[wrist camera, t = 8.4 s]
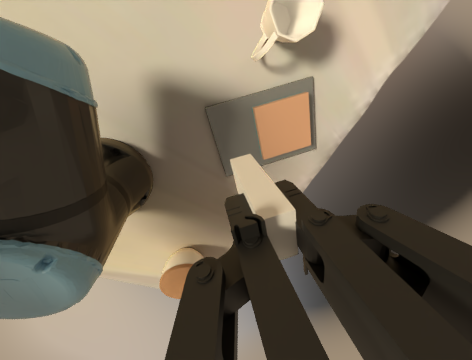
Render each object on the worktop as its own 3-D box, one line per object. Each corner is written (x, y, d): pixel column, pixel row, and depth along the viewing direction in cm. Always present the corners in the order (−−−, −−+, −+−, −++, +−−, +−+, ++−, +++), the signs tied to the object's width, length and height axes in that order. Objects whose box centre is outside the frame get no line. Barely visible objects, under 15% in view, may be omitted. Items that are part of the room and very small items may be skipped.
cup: (303, 20, 30) (335, 2, 23) (262, 76, 33) (280, 75, 26) (272, -20, 27) (299, -54, 20) (231, 45, 30) (241, 34, 23)
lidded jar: (171, 274, 51) (166, 311, 43) (158, 246, 46) (150, 282, 38) (210, 264, 52) (213, 299, 44) (202, 236, 47) (204, 269, 39)
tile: (263, 159, 38) (311, 145, 38) (254, 108, 33) (308, 92, 33) (261, 156, 39) (306, 142, 40) (251, 107, 34) (303, 91, 35)
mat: (226, 175, 40) (226, 176, 40) (205, 107, 33) (205, 108, 33) (314, 147, 41) (315, 148, 41) (311, 76, 34) (312, 76, 34)
